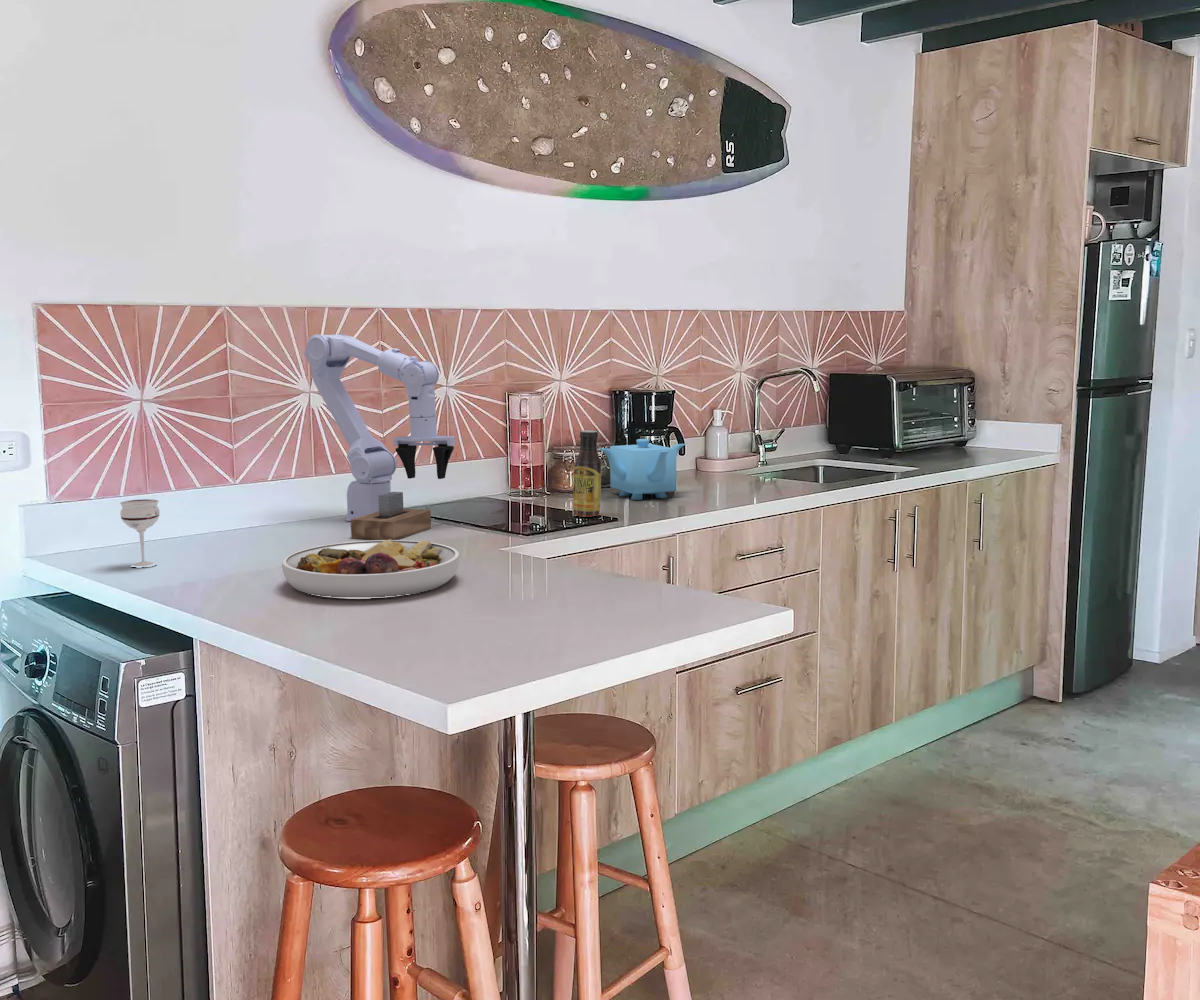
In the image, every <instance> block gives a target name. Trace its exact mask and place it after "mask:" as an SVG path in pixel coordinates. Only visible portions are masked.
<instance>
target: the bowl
mask: <svg viewBox="0 0 1200 1000" xmlns="http://www.w3.org/2000/svg"><path fill="white" fill-rule="evenodd" d="M459 565H460V552H459V550H457V549H456V548H454V547H452V546H448V545H446V544H441V543H436V542H430V541H429V540H427V541H426V540H405V539H399V540H391V539H389V540H357V541H345V542H337V543H335V542H334V543H330V544H322V545H317V546H312V547H309V548H304V549H301V550H298V551H295V552H292V553H290V554H288V555H286V556H285V557H283V559H282V561H281V566H282V567H281V568H282V572H283V576H284V578H285V579H286V581H287V583H288V584H289V585H290V586H291V587H292V588H294V589H295V590H297V591H299V592H301V591H302V592H301V593H303V592H305V593H309V594H314V595H320V596H331V597H385V596H397V595H406V594H414V593H418V594H421V593H420V592H423V593H425V592H424V591H426V592H429V591H428V590H430V591H432V590H435V589H437V588H439V587H442V586H444V585H445V584H446V583H448V582H449V581H450V580H451V579H452V578H453V577H454V575H456V572H457V570H458V568H459ZM305 593H304V594H305ZM309 594H308V595H309ZM414 595H415V594H414Z"/></svg>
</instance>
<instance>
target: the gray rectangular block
mask: <svg viewBox="0 0 1200 1000" xmlns="http://www.w3.org/2000/svg"><path fill="white" fill-rule="evenodd" d="M378 498H379V519H388V518H391V517H395V516H398V515H401V514H404V511H403V509H404V492H403V491H391V492H390V493H386V494H383V495H379V496H378Z"/></svg>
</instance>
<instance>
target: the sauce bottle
mask: <svg viewBox="0 0 1200 1000" xmlns="http://www.w3.org/2000/svg"><path fill="white" fill-rule="evenodd" d="M598 433H599V432H598V431H597V430H591V429H588V430H586V429H585V430H580V432H579V437H580V446H579V453H578V455H577V458H576V460H575V464H574V467H573V468H574V469H573V470H574V472H573V473H574V474H573V496H572V497H573V501H572V502H573V503H572V504H573V505H572V506H573V507H572V508H573V515H576V516H580V517H592V516H597V517H599V516H600V511H601V497H602V496H601V495H602V493H601V492H602V491H601V489H602V459H601V457H600V455H599V454H598V447H597V445H598V437H599V436H598V435H599V434H598ZM576 516H575V517H576ZM580 517H579V518H580Z"/></svg>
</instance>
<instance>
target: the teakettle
mask: <svg viewBox="0 0 1200 1000" xmlns="http://www.w3.org/2000/svg"><path fill="white" fill-rule="evenodd" d="M635 441H636V444H624V445H611V446H609V447H610V448H606V447H605V448H604V447H603V448H600V447H599V448H598V450H599V451H601V452H603V453H604V454H605V455H606V457H607V460H608V464H609V468H610V469H609V470H610V474H609V475H610V477H609V479H610V483H609V484H610V485H609V486H610V487H609V488H612V489H616V490H619V491H620V492H619V494H618V496H619V497H629V496H631V497H630V500H632V501H641V500H643V495H655V498H658V499H667V498H668V495H667V494H666V493H668V492H677V456H678V453H679V451H680V449H681V448H682V447H684V446H686V445H687V443H677V444H674V445H673V446H672V447H669V446H662V445H660V444H659V445H658V444H654V443H653V444H652V443H650V439H648V438H638V439H636V440H635ZM631 494H632V495H631Z"/></svg>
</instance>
